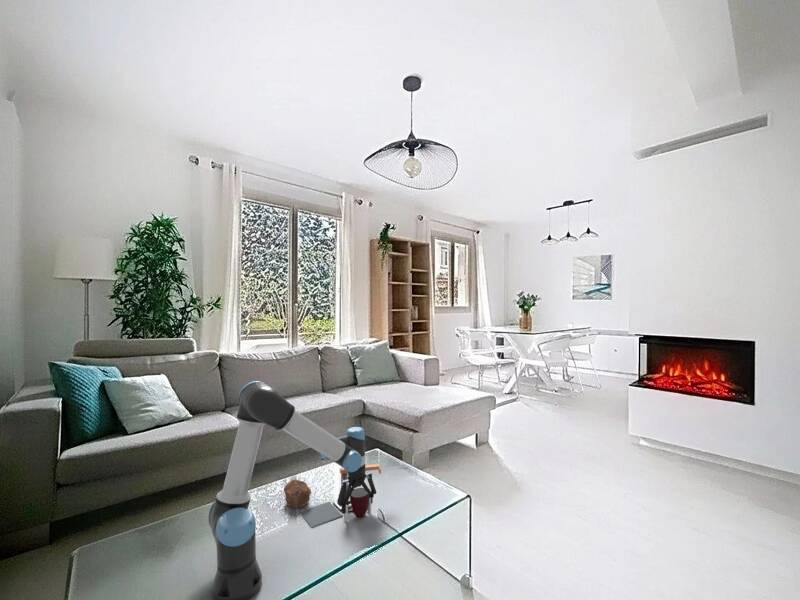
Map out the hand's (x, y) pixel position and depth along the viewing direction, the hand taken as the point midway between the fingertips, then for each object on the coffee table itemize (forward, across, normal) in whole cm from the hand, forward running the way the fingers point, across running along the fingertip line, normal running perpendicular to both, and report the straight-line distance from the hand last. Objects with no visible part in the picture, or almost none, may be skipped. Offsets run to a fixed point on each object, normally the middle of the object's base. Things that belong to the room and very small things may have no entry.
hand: (357, 515), depth 166 cm
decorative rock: (+1, -17, +26) cm, 31 cm away
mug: (+1, 0, 0) cm, 1 cm away
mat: (0, -12, +11) cm, 16 cm away
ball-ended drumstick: (-13, +7, +9) cm, 17 cm away
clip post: (0, 0, +12) cm, 12 cm away
